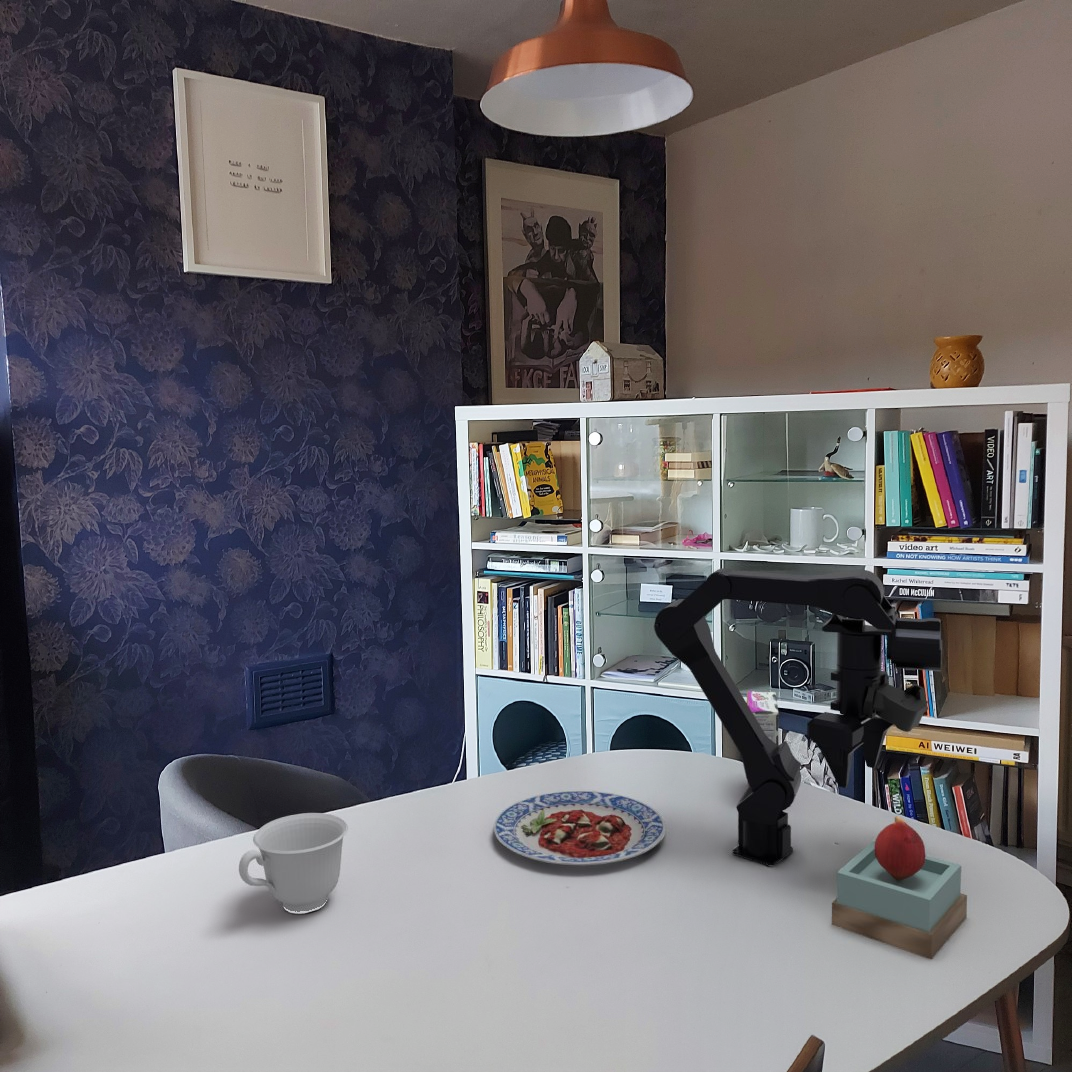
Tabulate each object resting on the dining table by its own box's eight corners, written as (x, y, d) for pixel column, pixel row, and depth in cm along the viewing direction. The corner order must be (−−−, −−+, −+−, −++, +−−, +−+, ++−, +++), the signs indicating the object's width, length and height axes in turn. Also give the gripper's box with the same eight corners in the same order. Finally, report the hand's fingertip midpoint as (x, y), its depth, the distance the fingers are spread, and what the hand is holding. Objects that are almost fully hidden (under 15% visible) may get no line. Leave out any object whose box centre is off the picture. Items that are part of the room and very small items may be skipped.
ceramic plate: (693, 823, 148) (693, 805, 148) (616, 895, 127) (616, 873, 126) (550, 792, 162) (550, 775, 162) (459, 852, 140) (459, 832, 140)
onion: (923, 872, 119) (925, 810, 118) (925, 894, 114) (927, 829, 113) (873, 865, 121) (875, 805, 120) (873, 887, 116) (875, 823, 115)
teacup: (219, 915, 124) (214, 841, 122) (317, 873, 134) (313, 805, 133) (270, 948, 115) (265, 869, 114) (370, 901, 126) (366, 828, 125)
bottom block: (831, 929, 118) (831, 902, 117) (871, 892, 127) (871, 867, 126) (931, 964, 110) (931, 935, 109) (966, 922, 119) (967, 895, 118)
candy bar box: (746, 784, 163) (746, 690, 161) (776, 785, 162) (776, 691, 160) (746, 810, 152) (747, 710, 150) (779, 812, 151) (780, 711, 149)
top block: (837, 903, 117) (837, 872, 117) (872, 870, 125) (872, 841, 125) (929, 933, 110) (929, 900, 109) (960, 895, 118) (961, 864, 118)
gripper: (890, 690, 116) (888, 813, 118) (945, 659, 130) (942, 770, 132) (805, 676, 124) (804, 792, 126) (865, 648, 138) (863, 753, 139)
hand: (857, 776), depth 130 cm, fingers open, 9 cm apart
